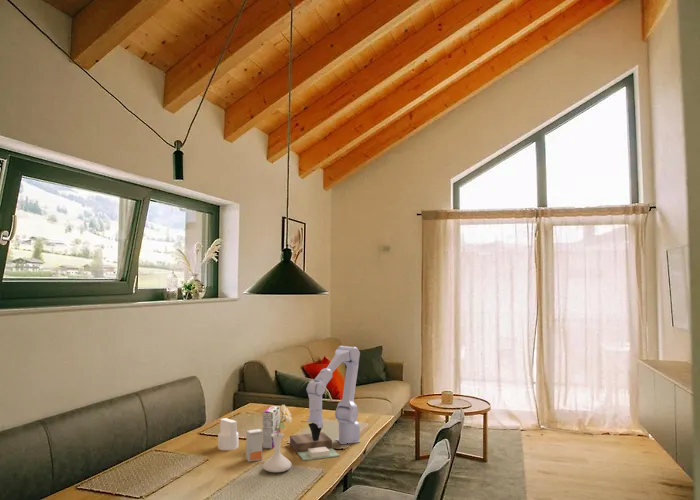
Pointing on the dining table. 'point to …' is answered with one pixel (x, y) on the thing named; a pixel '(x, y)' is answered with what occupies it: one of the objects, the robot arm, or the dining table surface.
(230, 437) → the cylinder with rectangular tab
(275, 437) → the flower in vase
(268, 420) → the candy bar box
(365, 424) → the dining table surface
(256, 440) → the skincare box
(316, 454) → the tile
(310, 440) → the brown flat block
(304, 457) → the mat
